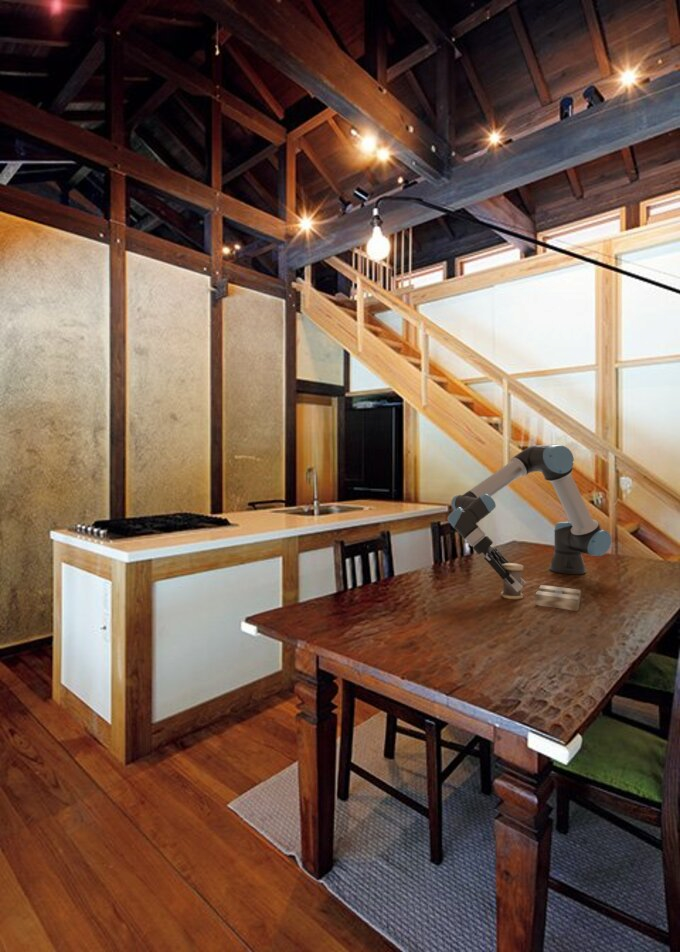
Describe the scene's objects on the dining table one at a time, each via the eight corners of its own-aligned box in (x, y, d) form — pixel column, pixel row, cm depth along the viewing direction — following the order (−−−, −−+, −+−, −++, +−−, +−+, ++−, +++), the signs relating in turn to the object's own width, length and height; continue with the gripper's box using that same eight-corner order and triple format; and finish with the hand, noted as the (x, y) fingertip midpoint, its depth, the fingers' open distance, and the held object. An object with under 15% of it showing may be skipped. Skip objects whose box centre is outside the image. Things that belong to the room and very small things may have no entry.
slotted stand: (535, 604, 182) (535, 594, 182) (540, 595, 194) (540, 584, 194) (577, 610, 175) (577, 599, 175) (580, 600, 187) (580, 589, 187)
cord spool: (496, 594, 194) (496, 564, 194) (511, 592, 198) (512, 562, 197) (511, 600, 187) (512, 568, 187) (527, 597, 191) (527, 566, 190)
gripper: (478, 543, 208) (518, 587, 201) (466, 551, 191) (509, 599, 184) (491, 531, 205) (532, 575, 198) (480, 539, 188) (524, 587, 181)
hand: (521, 587), depth 191 cm, fingers closed on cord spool, 6 cm apart
